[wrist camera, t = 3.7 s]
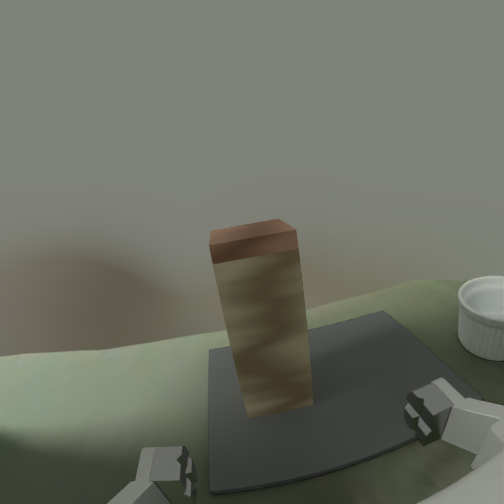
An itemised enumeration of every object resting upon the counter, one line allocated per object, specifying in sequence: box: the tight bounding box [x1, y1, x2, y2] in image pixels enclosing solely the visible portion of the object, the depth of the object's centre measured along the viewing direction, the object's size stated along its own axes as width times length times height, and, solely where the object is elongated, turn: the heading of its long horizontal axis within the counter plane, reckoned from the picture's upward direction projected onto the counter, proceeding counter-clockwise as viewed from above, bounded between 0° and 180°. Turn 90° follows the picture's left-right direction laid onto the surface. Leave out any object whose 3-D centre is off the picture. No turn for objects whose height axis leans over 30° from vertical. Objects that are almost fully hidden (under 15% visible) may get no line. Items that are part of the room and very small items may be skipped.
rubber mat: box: [208, 311, 484, 494], centre depth 21 cm, size 18×16×1 cm
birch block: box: [209, 219, 313, 419], centre depth 19 cm, size 4×4×12 cm
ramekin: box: [458, 276, 504, 361], centre depth 19 cm, size 9×9×4 cm
